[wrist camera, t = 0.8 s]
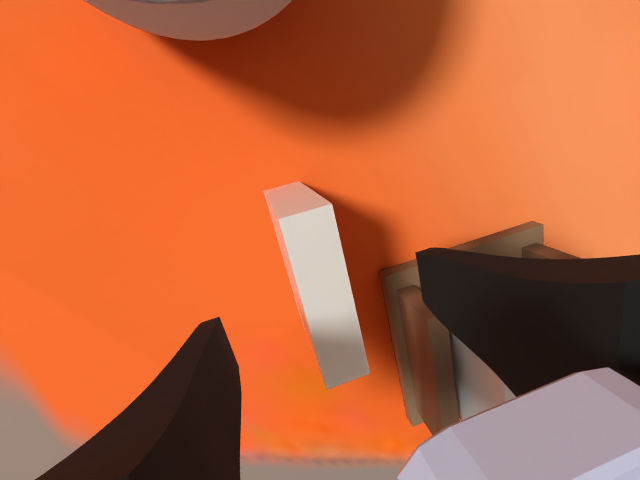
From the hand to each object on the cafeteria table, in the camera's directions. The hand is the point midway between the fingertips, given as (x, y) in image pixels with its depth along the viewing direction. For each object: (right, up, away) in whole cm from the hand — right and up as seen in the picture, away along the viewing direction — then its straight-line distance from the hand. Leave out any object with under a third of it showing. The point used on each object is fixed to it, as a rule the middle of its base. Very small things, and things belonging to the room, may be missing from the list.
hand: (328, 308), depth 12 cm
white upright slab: (-1, +2, +6) cm, 6 cm away
